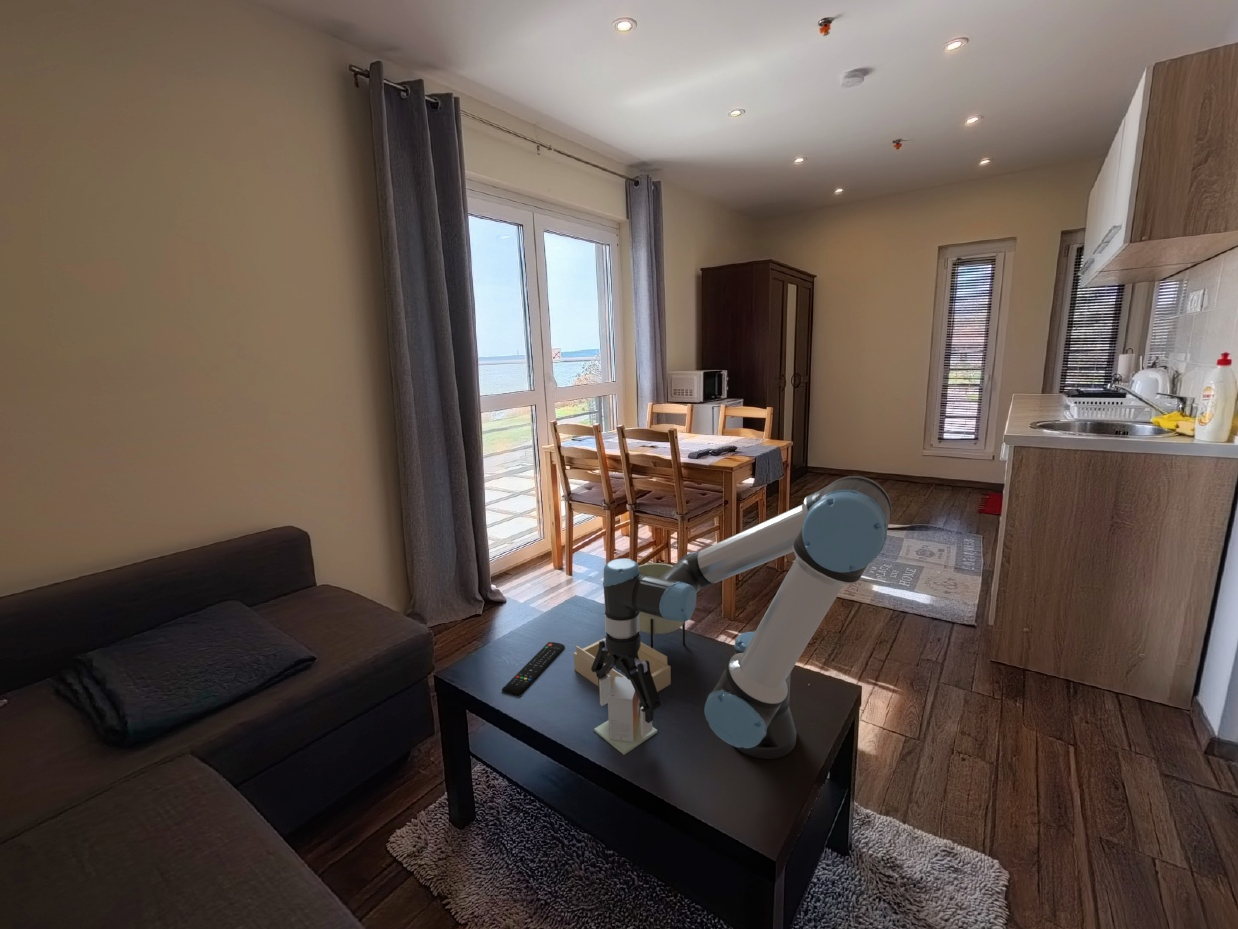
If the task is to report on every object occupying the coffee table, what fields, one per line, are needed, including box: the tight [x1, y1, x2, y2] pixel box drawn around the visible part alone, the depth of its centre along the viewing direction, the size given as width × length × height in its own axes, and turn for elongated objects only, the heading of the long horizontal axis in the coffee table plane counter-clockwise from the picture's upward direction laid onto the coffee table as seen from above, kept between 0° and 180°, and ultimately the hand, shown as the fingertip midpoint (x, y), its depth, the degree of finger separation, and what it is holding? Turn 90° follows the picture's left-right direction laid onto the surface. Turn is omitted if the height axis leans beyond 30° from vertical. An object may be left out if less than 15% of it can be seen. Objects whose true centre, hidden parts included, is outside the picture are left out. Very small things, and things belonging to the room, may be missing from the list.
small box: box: [607, 676, 641, 742], centre depth 121 cm, size 8×6×10 cm
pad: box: [593, 719, 658, 756], centre depth 122 cm, size 10×10×1 cm
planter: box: [639, 562, 686, 649], centre depth 152 cm, size 15×16×23 cm
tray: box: [573, 637, 672, 704], centre depth 141 cm, size 22×14×7 cm, turn 41°
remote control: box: [501, 641, 566, 697], centre depth 147 cm, size 5×24×1 cm, turn 157°
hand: (625, 717), depth 121 cm, fingers open, 13 cm apart
